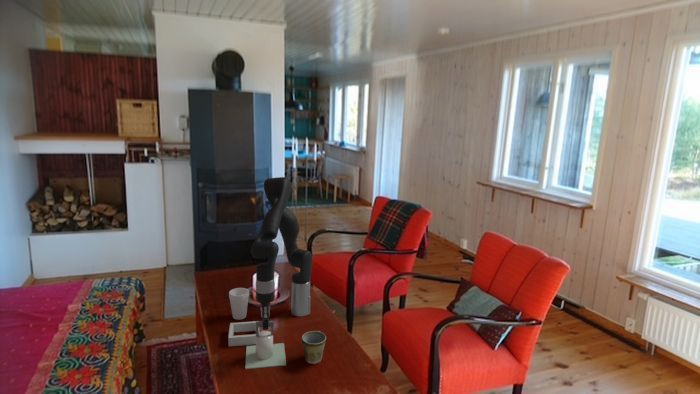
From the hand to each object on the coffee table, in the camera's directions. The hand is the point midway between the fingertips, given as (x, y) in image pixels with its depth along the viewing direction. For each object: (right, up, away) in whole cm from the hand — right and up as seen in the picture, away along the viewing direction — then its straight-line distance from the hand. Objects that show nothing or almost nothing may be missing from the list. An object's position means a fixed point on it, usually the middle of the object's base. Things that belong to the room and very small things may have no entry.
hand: (265, 328), depth 172 cm
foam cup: (-20, -5, +34) cm, 40 cm away
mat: (0, -12, +2) cm, 13 cm away
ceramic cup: (+20, -13, +3) cm, 24 cm away
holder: (-13, -9, +16) cm, 22 cm away
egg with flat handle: (-1, -12, +2) cm, 12 cm away
